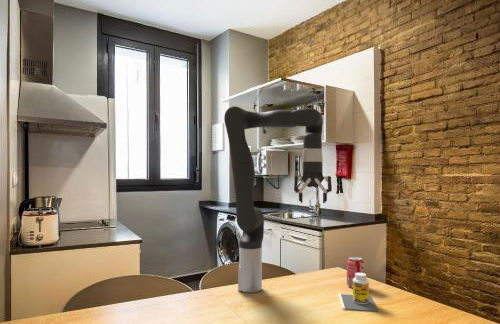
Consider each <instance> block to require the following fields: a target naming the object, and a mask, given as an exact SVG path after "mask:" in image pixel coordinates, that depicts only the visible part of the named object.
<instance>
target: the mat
mask: <svg viewBox="0 0 500 324" xmlns="http://www.w3.org/2000/svg"><path fill="white" fill-rule="evenodd" d="M337 294H338V299H339V302H340V305H341V309H342V310H344V311H357V312H358V311H362V312H373V313H374V312H375V313H379V312H380V311H379V309H378V307H377V305H376V303H375V301H374V299H373V296H371V295H369V302H368V303H367V304H364V305H362V304H357V303H355V302H354V301H353V294H345V293H343V294H342V293H339V292H338V293H337Z"/></svg>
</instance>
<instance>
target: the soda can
mask: <svg viewBox="0 0 500 324" xmlns="http://www.w3.org/2000/svg"><path fill="white" fill-rule="evenodd" d="M355 273H365V262H364V260H363V257H361V256H355V255H353V256H348V259H347V261H346V285H347V286H349V288H352V289H353V279H354V278H355Z"/></svg>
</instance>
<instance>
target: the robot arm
mask: <svg viewBox="0 0 500 324" xmlns="http://www.w3.org/2000/svg"><path fill="white" fill-rule="evenodd" d="M223 117H224V118H223V120H224V126H225V129H226V133H227V139H228V143H229V145H228V146H229V154H230V160H231V162H230V163H231V171H232V177H233V178H232V180H233V187H234V194H235V210H236V211H235V212H236V213H235V215H236V223H237V227H239V229H240V230H241V231H242V235H241V237H240V239H239V243H238V247H239V248H238V249H239V250H238V251H239V259H238V260H239V261H238V262H239V264H238V267H237V268H238V269H237V271H238V272H237V279H238V280H237V282H238V283H237V291H238V292H243V293H253V294H254V293H258V292H259V293H260V292H261V291H262V289H263V283H262V282H263V271H262V270H263V268H262V267H263V247H262V246H263V241H264V231H265V230H264V229H265V217H264V214H263V212H262V210H261V209H260V208H258V207H256V206H254V205H255V204H254V198H253V197H254V196H253V192H254V186H255V181H256V179H255V178H256V171H255V164H254V163H255V162H254V158H253V154H252V151H251V150H250V147H249V144H248V141H247V139H246V130H248V129H249V130H250V129H254V128H286V129H287V128H291V129H292V128H296V127H305V134H304V136H303V145H302V146H303V152H302V176H298V175H295V176H294V185H293V191H294V192H297V193H298V202H300V203H301V204H303V191H304V190H305V189H306V187H308V188H312V187H313V188H318V187H319V188H320V190H321V191H322V192H323V193H322V203H323V204H326V203H327V201H328V193H330V192H332V191H333V190H332V189H333V187H332V185H333V184H332V177H331V175H328V176H326V175H325V176H324V175H323V171H324V170H323V162H324V161H323V160H324V159H323V149H322V148H323V144H322V143H323V141H322V140H323V139H322V136H323V135H322V133H323V125H324V122H323V121H324V117H323V115H322V114H321V113H320V111H318V109H316V108H299V109H277V110H269V111H263V112H262V111H260V112H258V111H256V112H255V111H251V110H250V111H249V110H246V109H244V108H242V107H239V106H235V105H234V106H230V107H228V108H227V109H226V111H225V112H224V116H223ZM324 180H325V182H326V183H327V188H325V186H324V185H323V184H322V183H323V181H324ZM300 181H302V182H303V184H302V185H301V187H300V188H298V183H299V182H300Z"/></svg>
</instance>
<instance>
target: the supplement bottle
mask: <svg viewBox="0 0 500 324" xmlns="http://www.w3.org/2000/svg"><path fill="white" fill-rule="evenodd" d="M369 283H370V281H369V280H368V279H367V274H366V273H365V272H364V273H355V278H354V279H353V288H352V295H353V301H354V302H355V303H357V304H362V305H364V304H367V303H368V302H369V296H370V295H369V293H370V292H369V290H370V289H369V288H370V287H369V286H370V284H369Z"/></svg>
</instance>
